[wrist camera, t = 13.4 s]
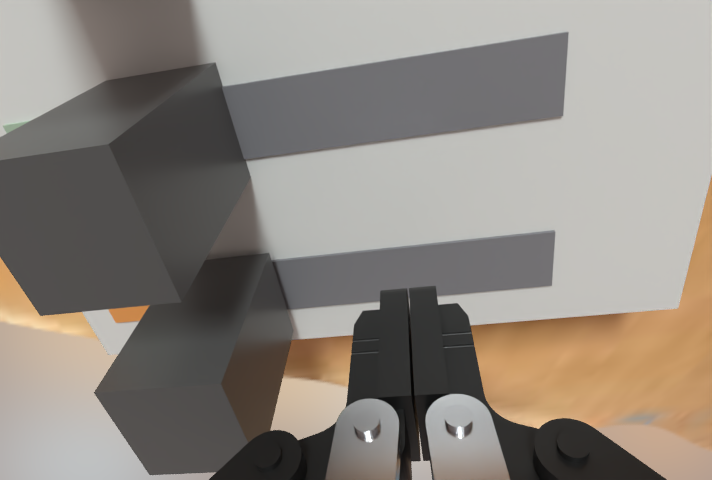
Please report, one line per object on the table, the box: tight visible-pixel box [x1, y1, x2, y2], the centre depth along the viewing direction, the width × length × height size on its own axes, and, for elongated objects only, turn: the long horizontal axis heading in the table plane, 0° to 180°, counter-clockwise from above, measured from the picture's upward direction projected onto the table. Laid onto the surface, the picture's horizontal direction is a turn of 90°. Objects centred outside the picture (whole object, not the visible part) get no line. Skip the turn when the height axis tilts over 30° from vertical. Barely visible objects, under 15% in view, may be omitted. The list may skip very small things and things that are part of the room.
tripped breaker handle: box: [94, 253, 294, 475], centre depth 13 cm, size 3×3×5 cm
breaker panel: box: [0, 0, 712, 355], centre depth 12 cm, size 20×16×8 cm
